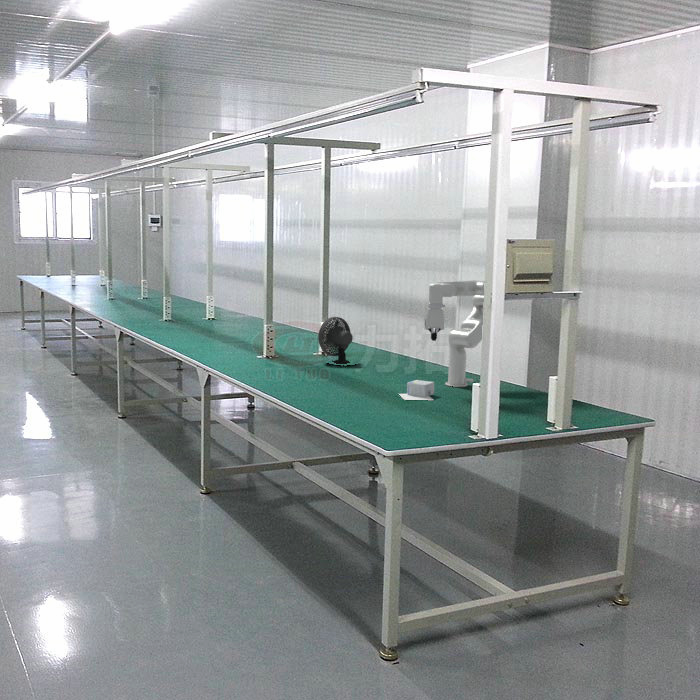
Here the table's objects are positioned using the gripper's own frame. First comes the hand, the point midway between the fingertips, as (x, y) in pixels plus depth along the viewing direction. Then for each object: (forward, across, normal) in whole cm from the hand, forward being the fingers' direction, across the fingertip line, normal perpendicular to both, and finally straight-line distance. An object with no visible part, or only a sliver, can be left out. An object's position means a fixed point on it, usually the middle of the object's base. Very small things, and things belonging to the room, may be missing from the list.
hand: (433, 340), depth 413 cm
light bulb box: (+23, +6, +19) cm, 31 cm away
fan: (+27, +38, -90) cm, 101 cm away
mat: (+27, +14, +21) cm, 37 cm away
